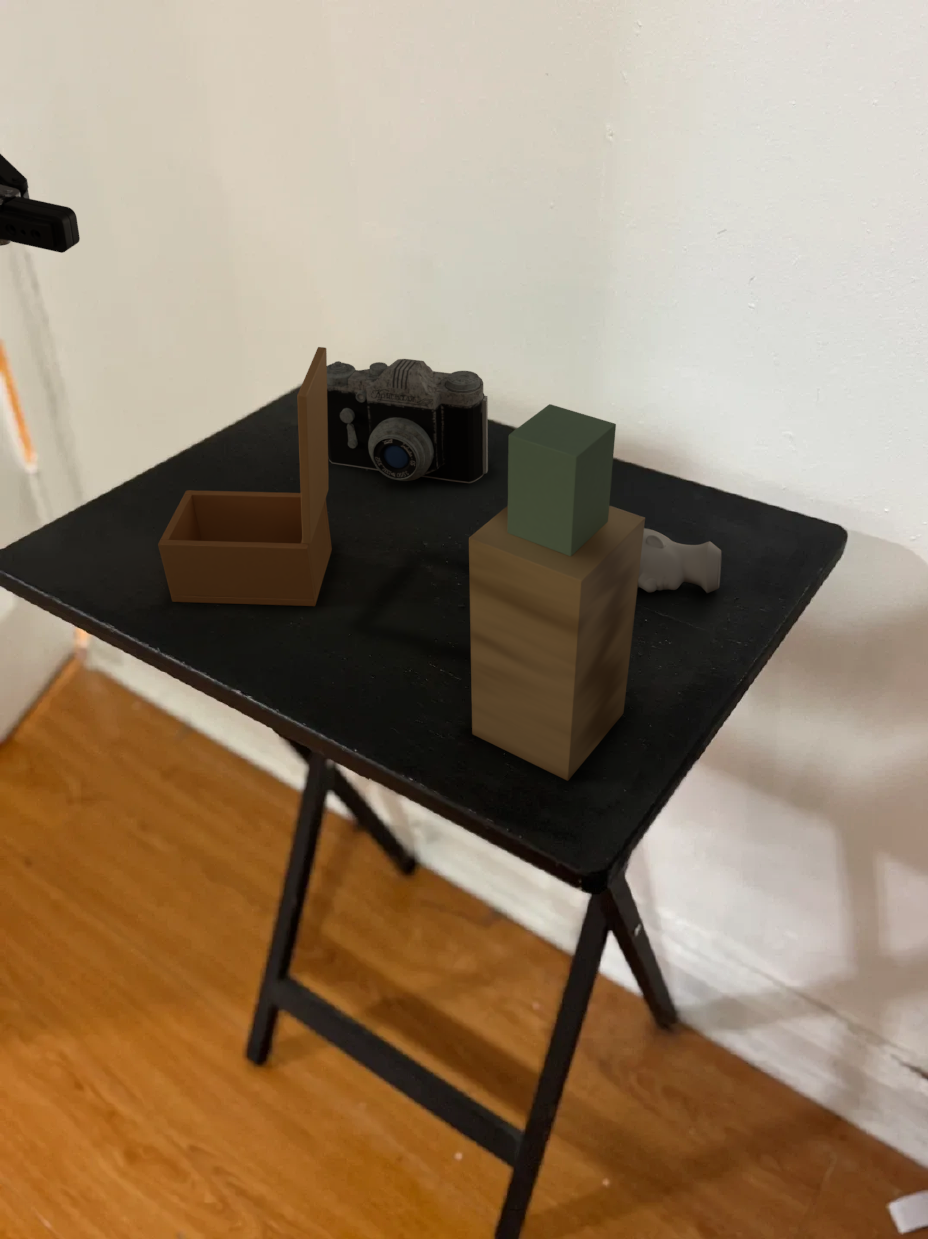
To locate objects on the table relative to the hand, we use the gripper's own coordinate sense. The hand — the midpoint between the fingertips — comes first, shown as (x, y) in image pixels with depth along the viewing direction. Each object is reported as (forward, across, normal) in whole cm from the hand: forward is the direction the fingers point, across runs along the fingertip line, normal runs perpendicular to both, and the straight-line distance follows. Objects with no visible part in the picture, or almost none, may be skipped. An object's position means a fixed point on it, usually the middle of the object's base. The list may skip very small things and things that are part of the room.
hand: (71, 231), depth 60 cm
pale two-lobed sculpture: (+40, +9, +22) cm, 46 cm away
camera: (+16, +20, +25) cm, 36 cm away
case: (+9, +3, +26) cm, 27 cm away
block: (+32, -7, +7) cm, 34 cm away
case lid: (+13, +4, +14) cm, 20 cm away
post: (+34, -8, +22) cm, 41 cm away
